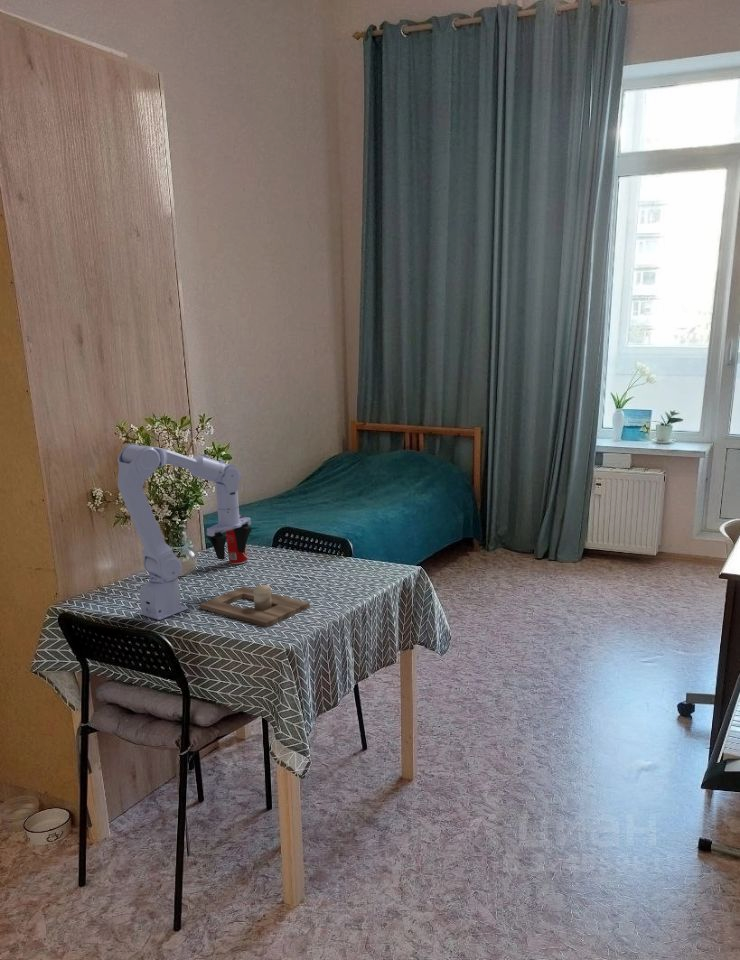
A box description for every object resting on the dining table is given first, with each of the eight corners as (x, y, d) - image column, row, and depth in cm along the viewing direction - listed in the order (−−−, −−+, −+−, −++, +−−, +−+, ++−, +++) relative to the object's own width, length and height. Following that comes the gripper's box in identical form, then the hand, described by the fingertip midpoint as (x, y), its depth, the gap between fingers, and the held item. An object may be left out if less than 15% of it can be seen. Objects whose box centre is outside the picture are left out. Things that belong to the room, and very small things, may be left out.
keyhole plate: (266, 627, 179) (266, 622, 179) (199, 608, 193) (199, 604, 193) (309, 607, 192) (309, 602, 192) (243, 590, 206) (243, 586, 205)
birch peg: (263, 614, 188) (261, 592, 186) (251, 611, 190) (249, 588, 189) (275, 609, 191) (274, 587, 190) (263, 605, 194) (262, 584, 192)
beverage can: (246, 564, 229) (243, 517, 226) (225, 565, 229) (222, 518, 226) (249, 559, 235) (246, 513, 232) (228, 559, 235) (225, 513, 232)
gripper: (218, 514, 192) (221, 564, 195) (257, 503, 204) (260, 551, 207) (200, 511, 197) (203, 560, 199) (239, 501, 208) (242, 547, 211)
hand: (231, 555), depth 203 cm, fingers open, 7 cm apart
